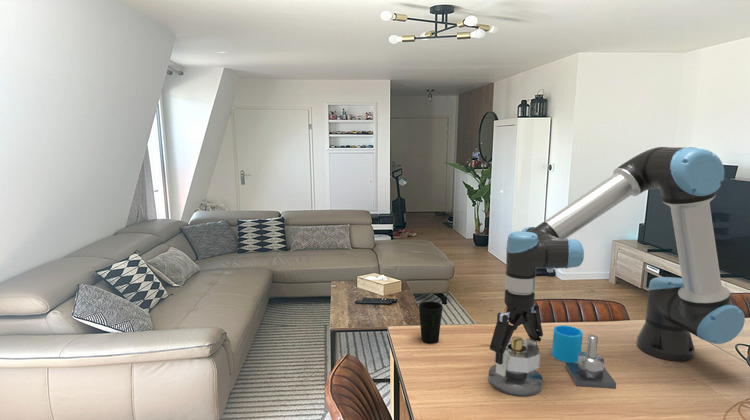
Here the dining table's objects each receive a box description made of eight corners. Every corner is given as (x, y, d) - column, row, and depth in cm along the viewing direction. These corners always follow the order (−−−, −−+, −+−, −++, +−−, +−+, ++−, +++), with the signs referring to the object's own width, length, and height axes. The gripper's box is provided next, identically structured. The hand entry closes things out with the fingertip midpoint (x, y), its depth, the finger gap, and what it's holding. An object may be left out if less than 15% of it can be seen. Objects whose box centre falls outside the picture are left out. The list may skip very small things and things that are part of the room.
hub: (535, 370, 128) (538, 329, 126) (548, 398, 114) (551, 352, 112) (485, 367, 130) (487, 326, 128) (492, 394, 116) (493, 349, 114)
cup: (425, 333, 153) (426, 299, 151) (445, 339, 148) (446, 304, 146) (413, 341, 147) (414, 306, 145) (434, 347, 142) (435, 311, 140)
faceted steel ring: (513, 348, 129) (514, 335, 128) (547, 364, 120) (547, 350, 119) (485, 358, 123) (486, 344, 122) (519, 376, 114) (519, 361, 113)
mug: (586, 362, 133) (588, 336, 132) (558, 363, 133) (560, 336, 131) (567, 344, 145) (569, 320, 143) (542, 344, 144) (544, 320, 143)
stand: (601, 369, 129) (605, 329, 127) (615, 388, 119) (619, 345, 117) (565, 367, 130) (568, 328, 128) (576, 385, 120) (579, 343, 118)
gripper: (536, 279, 127) (532, 351, 131) (477, 294, 115) (474, 374, 118) (560, 286, 121) (555, 361, 125) (499, 303, 109) (496, 387, 112)
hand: (515, 367), depth 122 cm, fingers closed on faceted steel ring, 11 cm apart
